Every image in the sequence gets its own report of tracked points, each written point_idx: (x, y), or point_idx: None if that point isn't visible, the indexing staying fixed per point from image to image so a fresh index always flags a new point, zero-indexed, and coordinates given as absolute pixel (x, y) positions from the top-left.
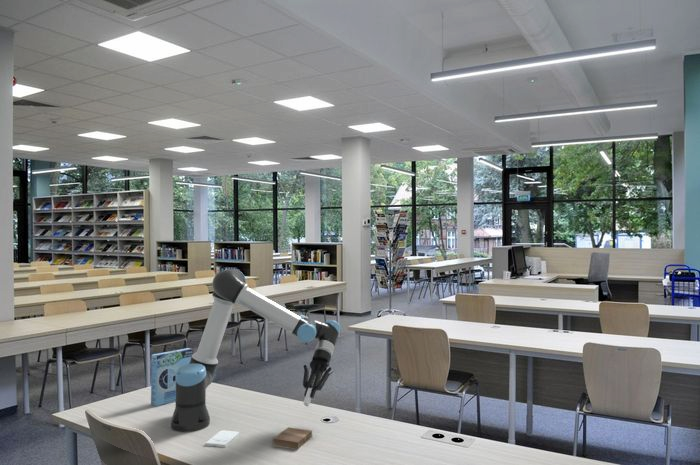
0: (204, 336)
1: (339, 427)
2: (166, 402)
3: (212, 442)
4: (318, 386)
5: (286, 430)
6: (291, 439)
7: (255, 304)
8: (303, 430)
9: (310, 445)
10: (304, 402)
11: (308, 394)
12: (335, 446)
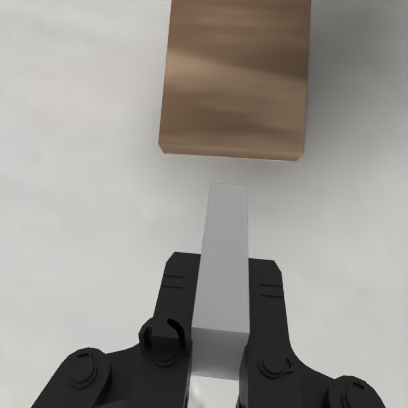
0: None
1: (65, 321)
2: None
3: None
4: (75, 361)
5: (293, 105)
6: (217, 6)
7: None
8: (203, 133)
9: (138, 64)
10: (235, 186)
11: (216, 249)
12: (26, 86)
